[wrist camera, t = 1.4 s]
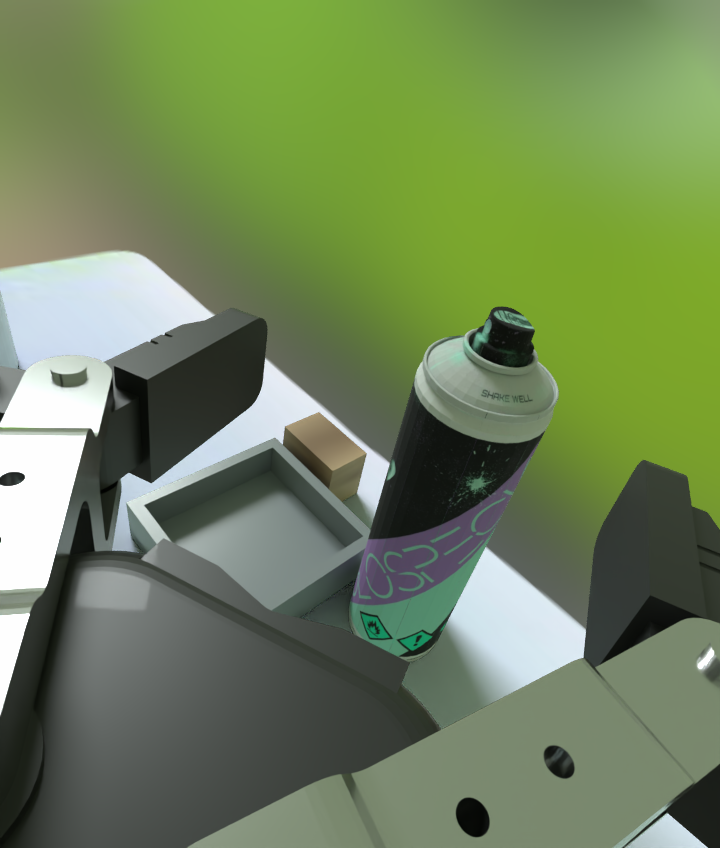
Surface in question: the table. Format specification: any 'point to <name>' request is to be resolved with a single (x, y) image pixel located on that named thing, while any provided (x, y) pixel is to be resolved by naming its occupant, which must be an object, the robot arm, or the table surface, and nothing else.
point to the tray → (259, 527)
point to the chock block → (326, 454)
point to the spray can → (450, 479)
